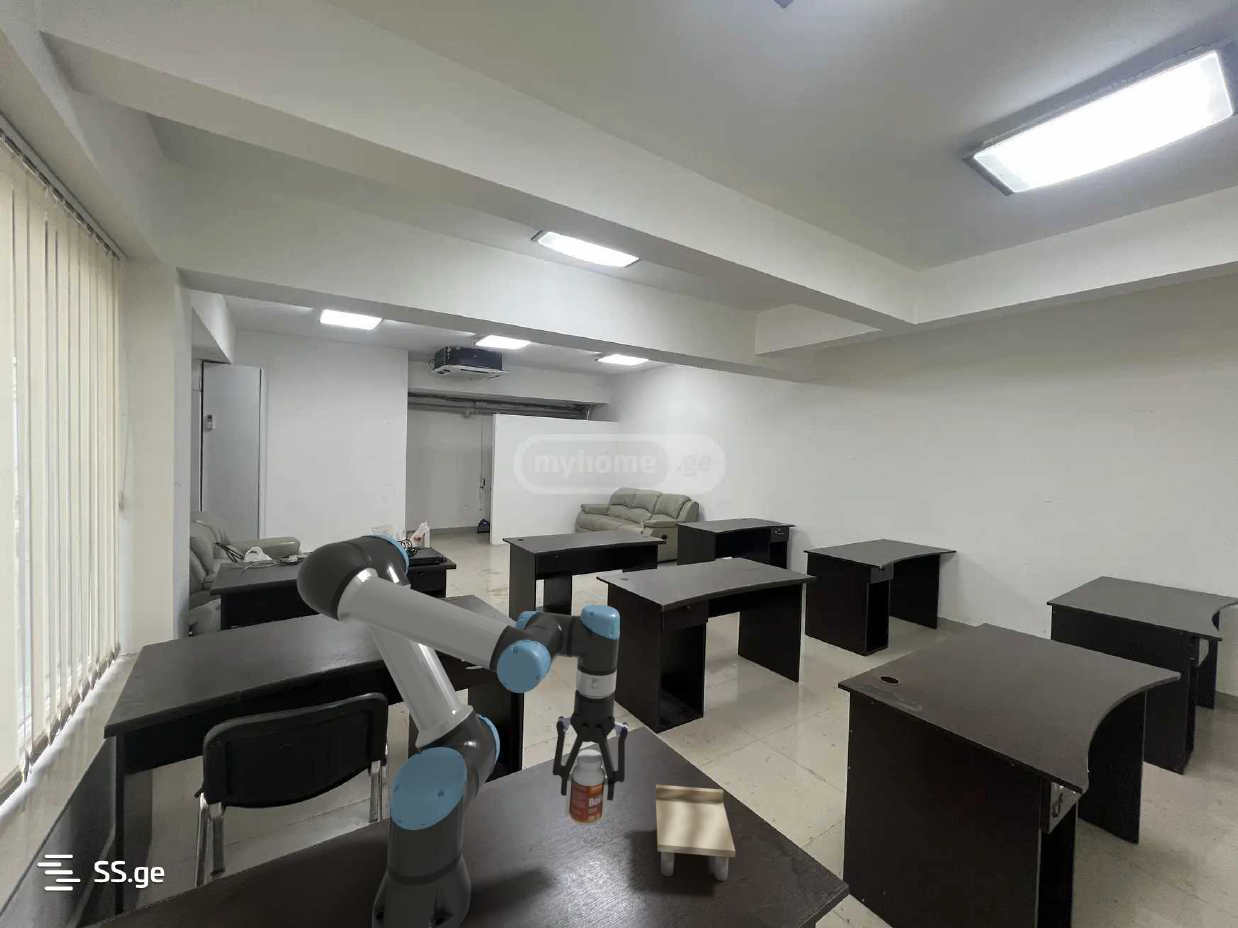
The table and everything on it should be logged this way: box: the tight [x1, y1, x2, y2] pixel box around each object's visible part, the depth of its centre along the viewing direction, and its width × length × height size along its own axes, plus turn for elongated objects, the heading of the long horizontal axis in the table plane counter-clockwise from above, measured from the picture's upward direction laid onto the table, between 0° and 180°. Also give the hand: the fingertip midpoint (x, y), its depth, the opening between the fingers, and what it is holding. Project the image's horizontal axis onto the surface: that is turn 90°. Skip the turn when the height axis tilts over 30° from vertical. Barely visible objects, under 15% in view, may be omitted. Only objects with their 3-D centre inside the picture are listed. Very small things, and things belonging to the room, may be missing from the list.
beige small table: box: [655, 784, 736, 882], centre depth 96 cm, size 14×14×8 cm
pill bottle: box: [569, 749, 606, 827], centre depth 92 cm, size 6×6×11 cm
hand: (585, 813), depth 92 cm, fingers closed on pill bottle, 6 cm apart
